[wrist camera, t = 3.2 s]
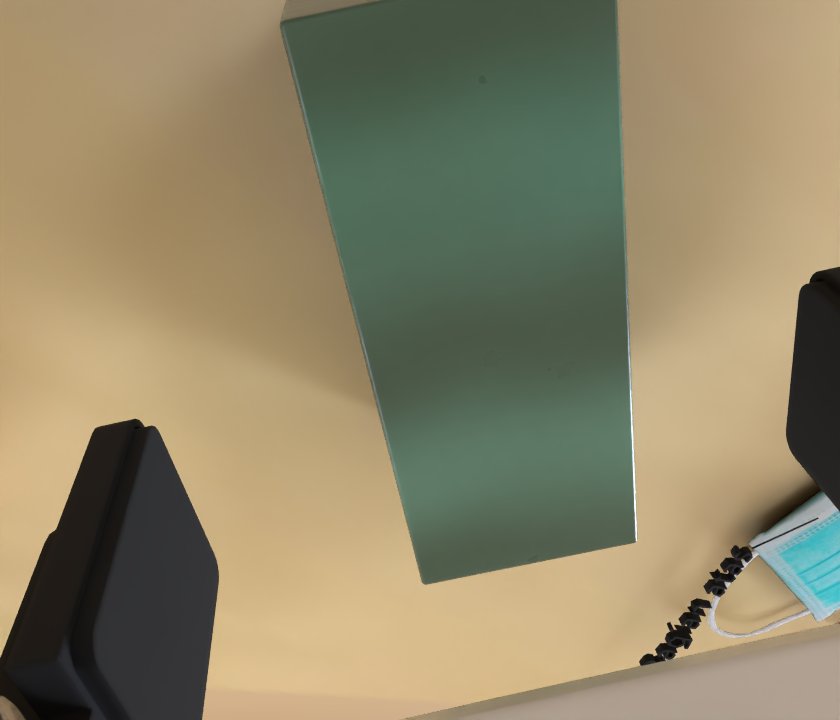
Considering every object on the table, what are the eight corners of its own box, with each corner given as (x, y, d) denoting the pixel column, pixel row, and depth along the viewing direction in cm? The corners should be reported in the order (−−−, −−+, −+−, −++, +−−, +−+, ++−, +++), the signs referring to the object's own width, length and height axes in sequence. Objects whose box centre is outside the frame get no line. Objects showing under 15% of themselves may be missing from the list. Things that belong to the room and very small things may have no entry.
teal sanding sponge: (291, -27, 15) (278, 21, 10) (532, -77, 15) (617, -49, 10) (402, 437, 21) (422, 586, 16) (574, 402, 20) (638, 543, 16)
